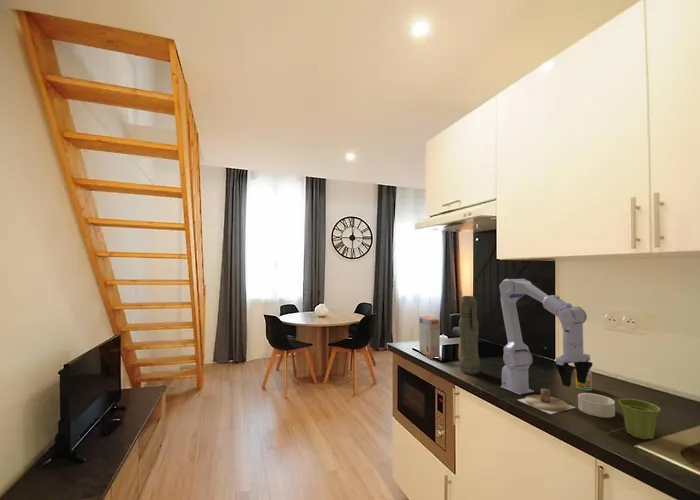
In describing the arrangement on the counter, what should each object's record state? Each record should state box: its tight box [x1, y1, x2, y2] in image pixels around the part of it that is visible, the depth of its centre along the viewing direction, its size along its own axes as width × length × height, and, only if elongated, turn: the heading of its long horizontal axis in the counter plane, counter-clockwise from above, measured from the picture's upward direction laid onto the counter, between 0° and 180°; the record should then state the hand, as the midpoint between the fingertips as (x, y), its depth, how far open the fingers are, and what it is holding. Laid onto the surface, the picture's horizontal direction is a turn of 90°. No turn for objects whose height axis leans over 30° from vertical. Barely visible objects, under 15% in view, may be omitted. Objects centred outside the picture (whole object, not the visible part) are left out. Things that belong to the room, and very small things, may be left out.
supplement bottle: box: [575, 369, 593, 392], centre depth 138 cm, size 5×5×10 cm
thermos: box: [458, 295, 480, 375], centre depth 161 cm, size 9×12×35 cm
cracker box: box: [418, 315, 441, 359], centre depth 189 cm, size 14×6×21 cm, turn 12°
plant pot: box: [617, 398, 661, 440], centre depth 100 cm, size 9×9×9 cm
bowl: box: [577, 392, 616, 419], centre depth 116 cm, size 10×10×4 cm
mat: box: [517, 397, 577, 415], centre depth 122 cm, size 13×13×1 cm
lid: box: [524, 388, 568, 412], centre depth 122 cm, size 13×13×5 cm
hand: (573, 384), depth 115 cm, fingers open, 7 cm apart
